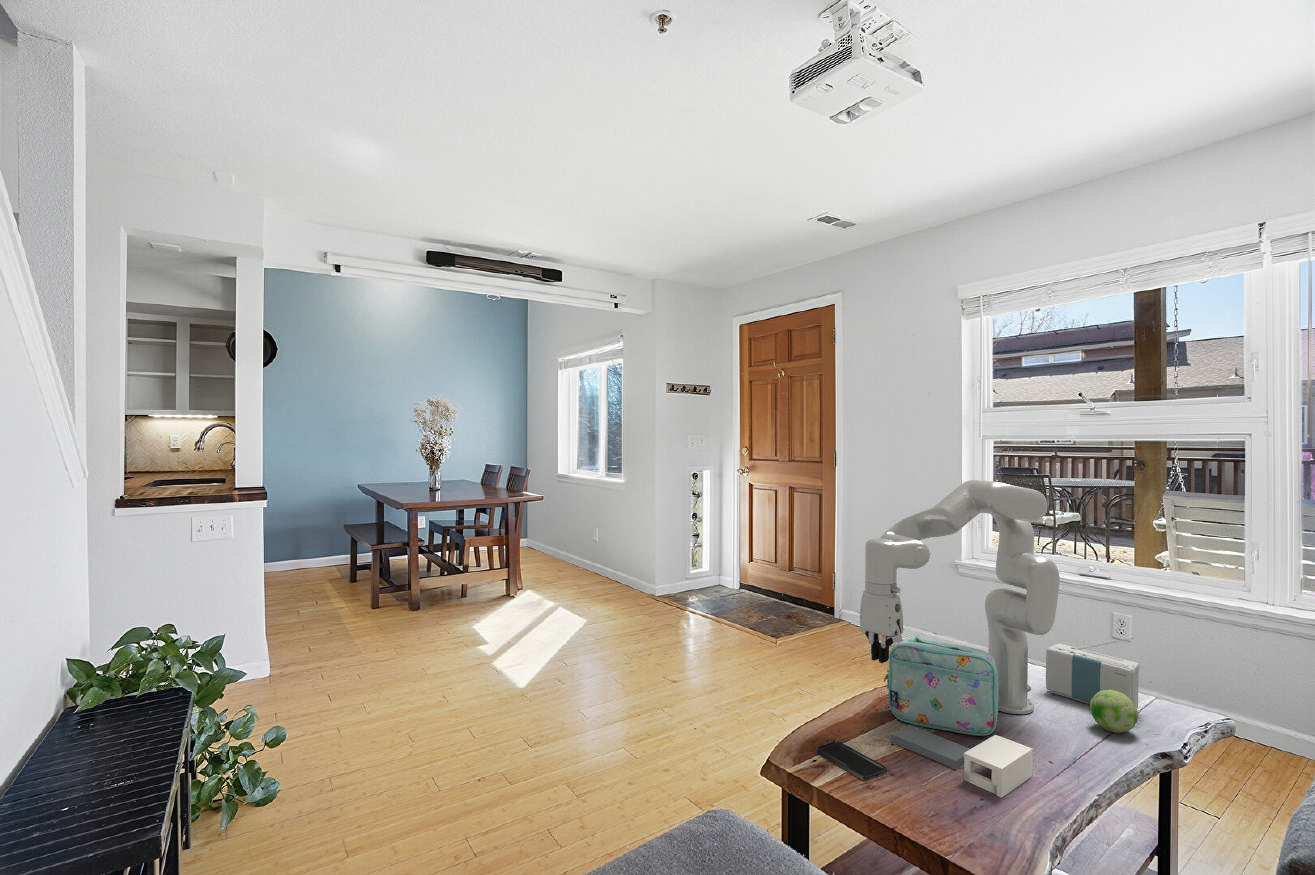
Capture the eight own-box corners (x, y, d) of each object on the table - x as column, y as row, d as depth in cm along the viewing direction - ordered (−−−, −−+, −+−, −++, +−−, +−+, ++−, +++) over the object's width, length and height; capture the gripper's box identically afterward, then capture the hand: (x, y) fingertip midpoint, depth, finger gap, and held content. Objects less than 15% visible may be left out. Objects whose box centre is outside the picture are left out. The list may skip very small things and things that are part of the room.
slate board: (908, 734, 161) (908, 724, 161) (973, 760, 148) (973, 750, 148) (891, 743, 156) (891, 734, 156) (956, 771, 143) (956, 761, 143)
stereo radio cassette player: (1044, 693, 185) (1045, 624, 185) (1056, 686, 190) (1057, 619, 189) (1130, 720, 168) (1131, 644, 168) (1141, 712, 173) (1143, 638, 173)
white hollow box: (995, 760, 147) (995, 734, 147) (1032, 776, 141) (1032, 748, 140) (963, 780, 139) (963, 753, 139) (1001, 798, 132) (1002, 769, 132)
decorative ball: (1140, 730, 162) (1141, 691, 162) (1133, 744, 155) (1134, 703, 155) (1094, 718, 169) (1095, 680, 169) (1085, 730, 162) (1085, 691, 162)
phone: (837, 740, 155) (889, 768, 142) (837, 745, 155) (888, 773, 142) (813, 748, 151) (864, 778, 138) (813, 753, 151) (864, 783, 138)
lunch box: (881, 721, 167) (882, 638, 167) (887, 706, 176) (888, 628, 176) (997, 745, 154) (998, 656, 154) (997, 727, 164) (998, 643, 163)
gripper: (917, 592, 159) (916, 666, 159) (863, 580, 171) (862, 649, 171) (899, 597, 154) (899, 673, 154) (845, 584, 167) (845, 655, 167)
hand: (879, 660), depth 163 cm, fingers closed
